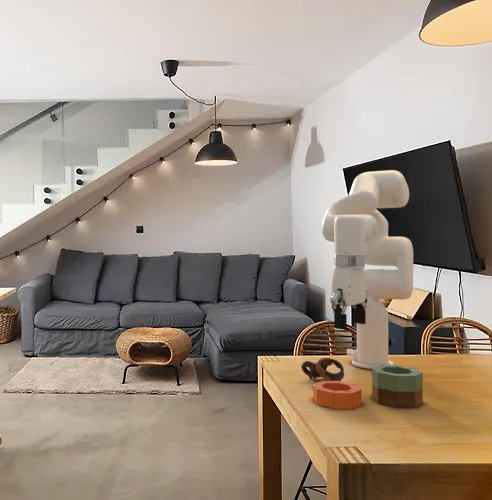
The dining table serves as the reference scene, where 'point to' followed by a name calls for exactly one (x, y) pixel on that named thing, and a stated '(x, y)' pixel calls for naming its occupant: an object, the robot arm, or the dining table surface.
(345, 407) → the ring top
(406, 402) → the ring bottom
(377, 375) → the ring middle
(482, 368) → the dining table surface
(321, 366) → the brown knot
